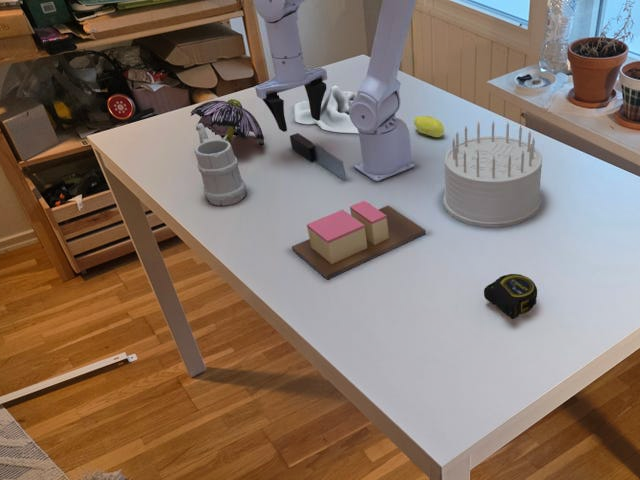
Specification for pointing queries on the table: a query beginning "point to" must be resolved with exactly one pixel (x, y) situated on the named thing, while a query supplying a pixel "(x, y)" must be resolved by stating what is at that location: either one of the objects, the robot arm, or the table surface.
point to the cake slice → (371, 221)
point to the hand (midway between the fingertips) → (299, 124)
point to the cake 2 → (492, 180)
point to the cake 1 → (337, 236)
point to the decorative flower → (228, 120)
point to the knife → (317, 155)
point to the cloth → (330, 112)
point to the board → (398, 233)
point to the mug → (219, 170)
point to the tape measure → (512, 294)
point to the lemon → (429, 126)
